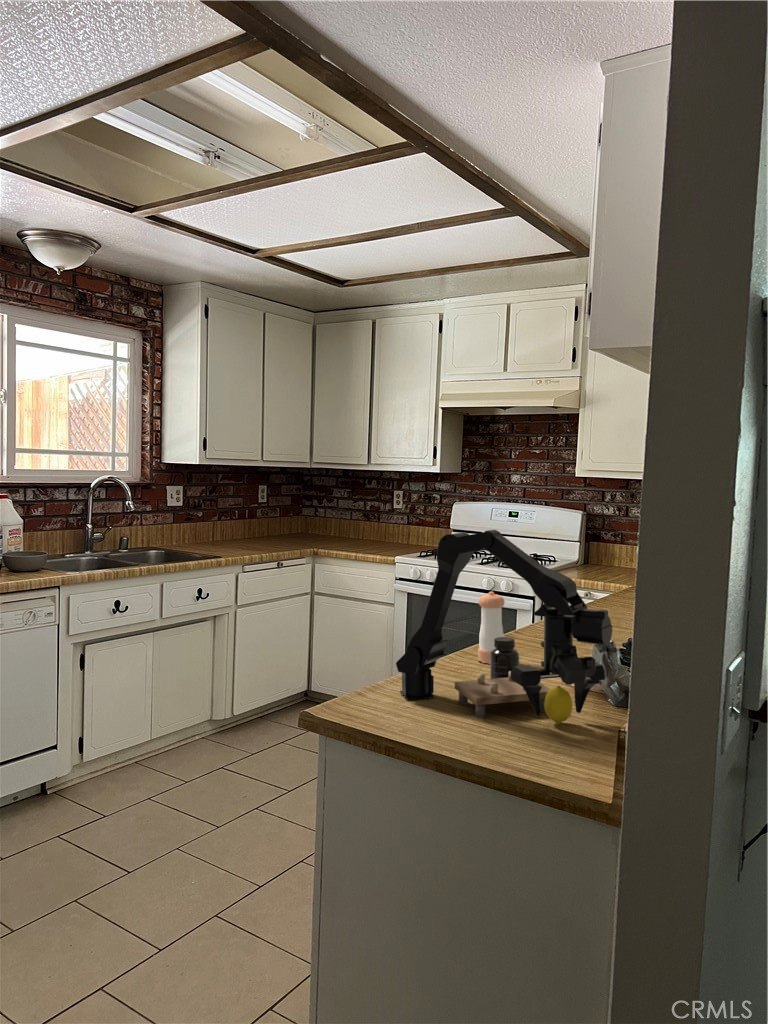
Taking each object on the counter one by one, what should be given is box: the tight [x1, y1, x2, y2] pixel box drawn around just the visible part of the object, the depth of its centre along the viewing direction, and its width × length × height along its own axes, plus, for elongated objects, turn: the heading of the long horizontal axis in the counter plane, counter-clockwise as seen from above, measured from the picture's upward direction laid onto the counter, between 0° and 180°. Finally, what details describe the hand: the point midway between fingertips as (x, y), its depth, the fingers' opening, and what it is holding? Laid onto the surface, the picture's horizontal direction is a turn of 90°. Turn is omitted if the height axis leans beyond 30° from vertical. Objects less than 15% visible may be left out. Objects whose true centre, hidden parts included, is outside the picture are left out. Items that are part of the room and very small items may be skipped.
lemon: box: [544, 685, 573, 725], centre depth 157 cm, size 6×6×8 cm
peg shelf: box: [454, 671, 552, 719], centre depth 169 cm, size 18×13×6 cm
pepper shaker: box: [477, 591, 505, 664], centre depth 209 cm, size 7×7×19 cm
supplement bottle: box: [489, 636, 520, 679], centre depth 183 cm, size 7×7×12 cm
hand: (558, 714), depth 157 cm, fingers open, 9 cm apart
